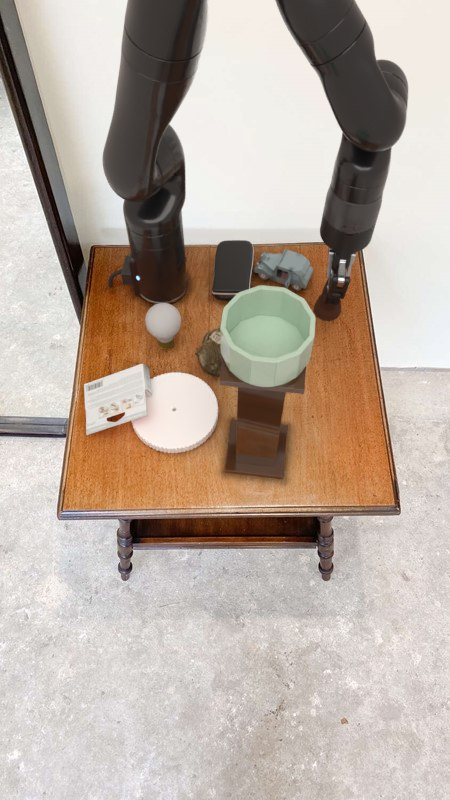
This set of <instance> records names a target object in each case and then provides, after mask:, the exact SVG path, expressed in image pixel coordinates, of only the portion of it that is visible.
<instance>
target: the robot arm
mask: <svg viewBox="0 0 450 800" xmlns="http://www.w3.org/2000/svg"><path fill="white" fill-rule="evenodd" d="M274 2H275V5H276V8H277V10H278V12H279V15H280V16H281V19H282V21H283V22H284V25H285V27H286V30H287V31H288V33H289V34H290V36H291V37H292V40H293V41H294V43H295V44H296V45H297V47H298V49H299V50H300V52H301V53H302V54H303V56H304V57H305V59H306V61H307V62H308V63H309V65H310V66H311V68H312V69H313V70H314V72H315V73H316V74H317V76H318V78H319V81H320V83H321V85H322V89H323V92H324V95H325V97H326V100H327V101H328V105H329V106H330V110H331V111H332V114H333V116H334V119H335V120H336V122H337V125H338V127H339V129H340V130H341V139H340V143H339V147H338V150H337V154H336V157H335V160H334V165H333V168H332V169H333V170H332V174H331V179H330V183H329V186H328V189H327V192H326V197H325V201H324V206H323V211H322V215H321V216H322V217H321V220H320V227H319V235H320V239H321V241H322V242H323V243H324V244H325V245H326V246H327V260H328V262H327V267H326V274H325V275H326V278H327V280H328V279H329V282H328V285H327V293H326V297H325V304H328V305H338V304H339V301H340V300H344V299H345V297H346V294H347V292H348V288H349V286H350V283H351V281H352V280H351V274H352V268H353V265H354V263H355V262H356V257H357V253H359V252H361V251H363V250H364V249H365V248H367V247H368V246H369V244H370V243H371V241H372V238H373V235H374V232H375V228H376V225H377V222H378V219H379V215H380V211H381V208H382V202H383V195H384V190H385V186H386V184H387V180H388V177H389V173H390V169H391V162H392V161H391V160H392V150H393V147H394V146H395V145H396V144H397V143H398V141H399V140H400V139H401V138H402V136H403V134H404V131H405V128H406V125H407V119H408V103H409V92H410V91H409V90H410V89H409V81H408V78H407V76H406V74H405V72H404V70H403V69H402V68H401V66H400V65H398V64H397V63H396V62H394V61H392V60H389V59H384V58H382V59H377V56H376V49H375V40H374V35H373V32H372V30H371V27H370V25H369V23H368V20H367V19H366V17H365V16H364V13H363V11H362V10H361V8H360V7H359V5H358V3H357V2H356V0H274ZM209 4H210V3H209V0H127V2H126V8H125V13H124V20H123V30H122V36H121V37H122V39H121V45H120V46H121V49H120V59H119V60H120V61H119V69H118V75H117V82H116V90H115V98H114V104H113V105H114V106H113V112H112V116H111V121H110V125H109V128H108V132H107V135H106V140H105V143H104V146H103V151H102V169H103V174H104V176H105V180H106V181H107V183H108V185H109V186H110V189H111V190H112V191H113V192H114V193H115V194H116V195H117V196H118V197H119V198H121V199H123V203H122V212H123V213H122V214H123V219H124V223H125V229H126V234H127V239H128V244H129V250H130V251H129V255H125V257H124V261H123V265H122V268H121V269H118V270H116V271H114V272H112V273H111V274H110V275H109V277H108V285H107V287H109V288H112V287H113V283H114V282H113V281H114V279H115V278H116V277H117V276H119V275H120V276H121V281H122V285H125V286H132V288H133V292H134V296H135V297H140V298H141V299H142V300H143V301H145V302H147V303H149V304H151V305H153V306H154V305H156V304H158V303H168V304H171V305H173V304H174V303H177V302H179V300H181V299H182V298H183V297H184V296H185V295H186V293H187V291H188V289H189V278H188V271H187V264H188V263H187V255H186V247H185V235H184V225H183V211H182V210H183V208H184V205H185V201H186V195H187V194H186V193H187V190H186V189H187V187H186V184H187V183H186V182H187V181H186V157H185V150H184V147H183V144H182V142H181V139H180V136H179V135H178V133H177V132H176V130H175V129H174V127H173V126H172V125H171V124H170V123H171V122H172V120H173V119H174V117H175V116H176V114H177V112H178V110H179V109H180V107H181V105H182V104H183V102H184V100H185V98H186V97H187V94H188V93H189V91H190V89H191V86H192V85H193V83H194V80H195V77H196V76H197V72H198V70H199V66H200V63H201V58H202V54H203V51H204V46H205V42H206V38H207V34H208V27H209V19H210V18H209V16H210V6H209ZM334 269H335V270H338V271H333V270H334Z"/></svg>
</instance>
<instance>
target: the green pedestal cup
mask: <svg viewBox="0 0 450 800" xmlns="http://www.w3.org/2000/svg"><path fill="white" fill-rule="evenodd" d="M316 322H317V316H316V315H315V313H314V311H313V310H312V308H311V307H310V305H309V304H308V302H307V300H306V299H305V298H304V297H302V296H300V295H299V294H297V293H295V292H293V291H291V290H290V289H289V288H288V289H286V288H285V286H284V287H283V286H273V285H263V284H260V285H259V284H258V285H256V286H253V287H250V289H247V290H244V291H241V292H239V293H237V294H236V295H235V297H234V298H233V299H232V300H229V302H228V303H227V304H226V305H225V306H224V307H223V309H222V314H221V320H220V327H219V328H220V341H221V354H222V356H223V360H222V367H221V373H220V375H219V380H218V383H219V384H218V385H219V386H222V387H233V388H237V399H236V400H237V403H236V419H234V418H231V423H230V430H229V431H230V432H229V438H228V443H227V444H228V445H227V453H226V458H225V459H226V460H225V466H224V474H225V473H226V474H233V475H242V476H250V477H257V478H258V477H260V478H269V479H277V480H283V479H284V475H285V474H284V473H285V463H286V462H285V461H286V452H287V451H286V450H287V441H288V440H287V438H288V429H289V425H288V424H282V420H283V413H284V406H285V400H286V394H287V393H288V394H289V393H290V394H297V395H298V394H299V395H304V394H305V388H306V376H307V365H308V364H309V363H310V361H311V355H312V353H313V352H312V351H313V347H314V341H315V334H316Z"/></svg>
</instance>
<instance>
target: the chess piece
mask: <svg viewBox="0 0 450 800" xmlns="http://www.w3.org/2000/svg"><path fill="white" fill-rule="evenodd" d="M333 271H338V270H335V269H334V270H333ZM328 282H329V279H328V278H327V280H326V282H325V284H324V287H323V289H322V292H321V294H319V296H318V298H317V299H316V301H315V303H314V305H313V314H314V315H315V317H316V318H318V319H319V320H321V321H324V322H333V321H336V320H338V318H339V317H340V316H341V313H342V308H343V307H342V299H340V301H339V304H338V305H328V304H325V297H326V293H327V285H328Z"/></svg>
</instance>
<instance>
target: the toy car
mask: <svg viewBox="0 0 450 800" xmlns="http://www.w3.org/2000/svg"><path fill="white" fill-rule="evenodd" d="M314 271H315V269H314V268H313V266H312V265H311V262H310V260H309V259H308V258H307V257H306V256H304V255H303V254H302V253H300V252H296V251H292V250H290V249H288V248H287V249H286V248H284V249H283V251H282V253H271V252H269V251H265V252H262V254H260V259H259V262H256V264H255V267H254V268H253V272H254V273H256V274H257V275H258V278H260V279H261V280H269V281H272V282H275V283H278V284H281V285H284V288H286V289H288V290H289V287H290V286H291V288H292V289H293V290H294V291H301V290H302V289H307V287H308V285H309V283H310V281H311V278H312V276H313V274H314Z"/></svg>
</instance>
